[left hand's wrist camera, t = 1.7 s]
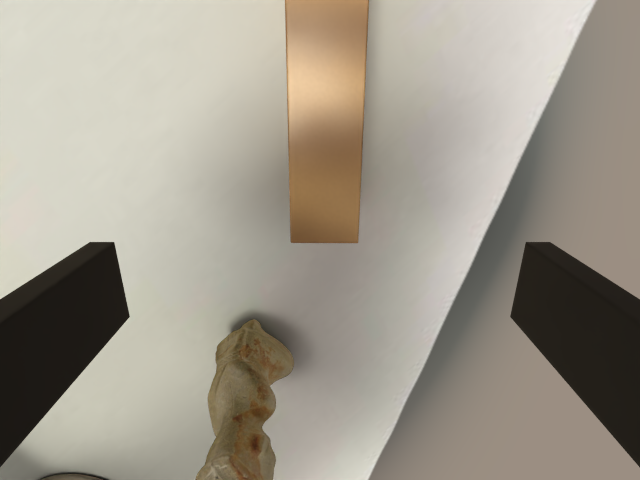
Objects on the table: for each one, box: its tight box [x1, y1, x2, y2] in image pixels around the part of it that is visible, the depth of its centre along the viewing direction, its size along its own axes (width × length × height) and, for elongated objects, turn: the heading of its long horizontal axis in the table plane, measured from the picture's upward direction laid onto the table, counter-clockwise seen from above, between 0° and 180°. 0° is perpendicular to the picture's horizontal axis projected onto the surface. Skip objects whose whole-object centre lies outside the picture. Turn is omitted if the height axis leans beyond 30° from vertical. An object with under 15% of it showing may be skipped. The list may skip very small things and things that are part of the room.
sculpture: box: [195, 319, 294, 480], centre depth 31 cm, size 6×7×15 cm
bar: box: [285, 0, 369, 243], centre depth 25 cm, size 22×4×9 cm, turn 0°
